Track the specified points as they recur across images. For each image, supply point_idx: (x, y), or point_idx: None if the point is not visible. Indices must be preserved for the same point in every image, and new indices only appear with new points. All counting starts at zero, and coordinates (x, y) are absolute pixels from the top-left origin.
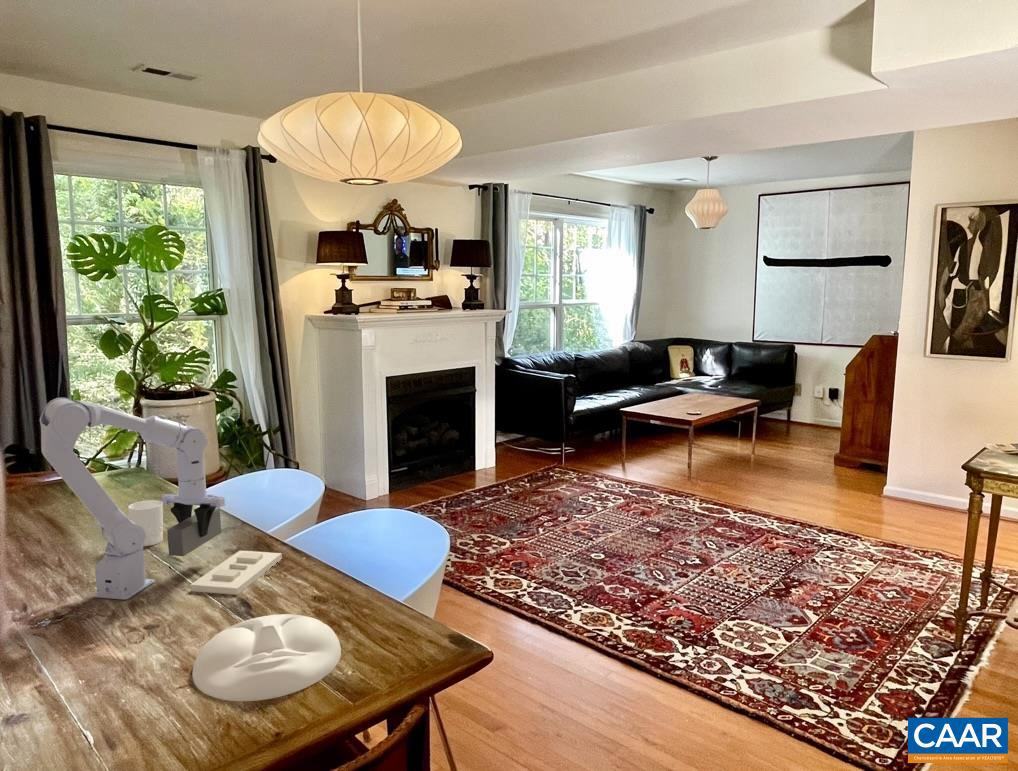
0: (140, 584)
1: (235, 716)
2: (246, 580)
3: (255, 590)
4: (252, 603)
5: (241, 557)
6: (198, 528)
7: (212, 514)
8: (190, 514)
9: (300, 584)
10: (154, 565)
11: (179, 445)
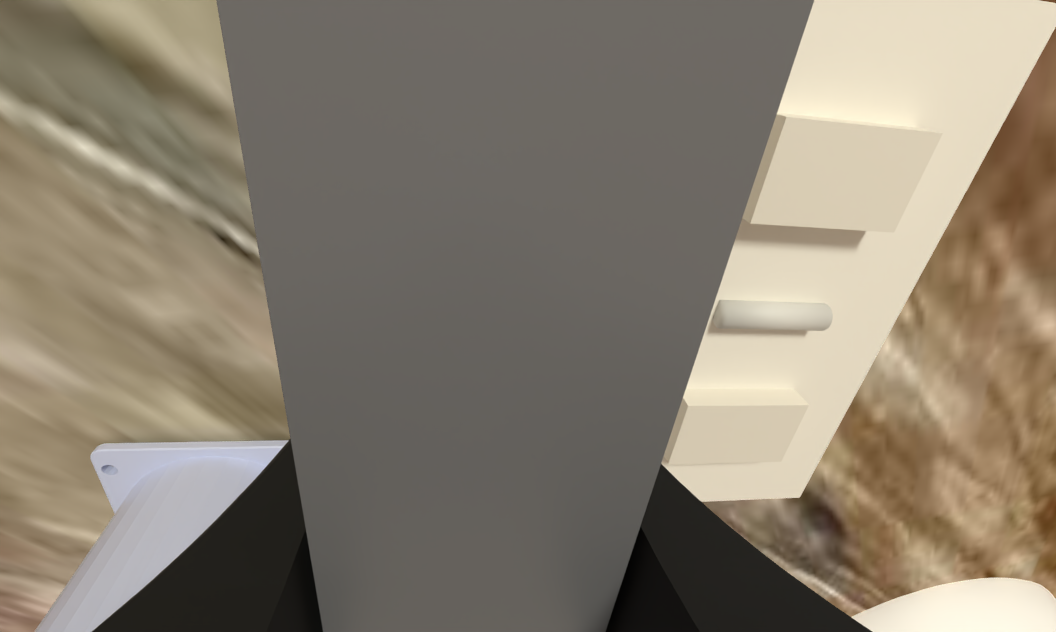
0: None
1: None
2: (830, 433)
3: (849, 430)
4: (844, 510)
5: (786, 220)
6: None
7: (686, 330)
8: (281, 624)
9: (1044, 355)
10: (62, 220)
11: None
